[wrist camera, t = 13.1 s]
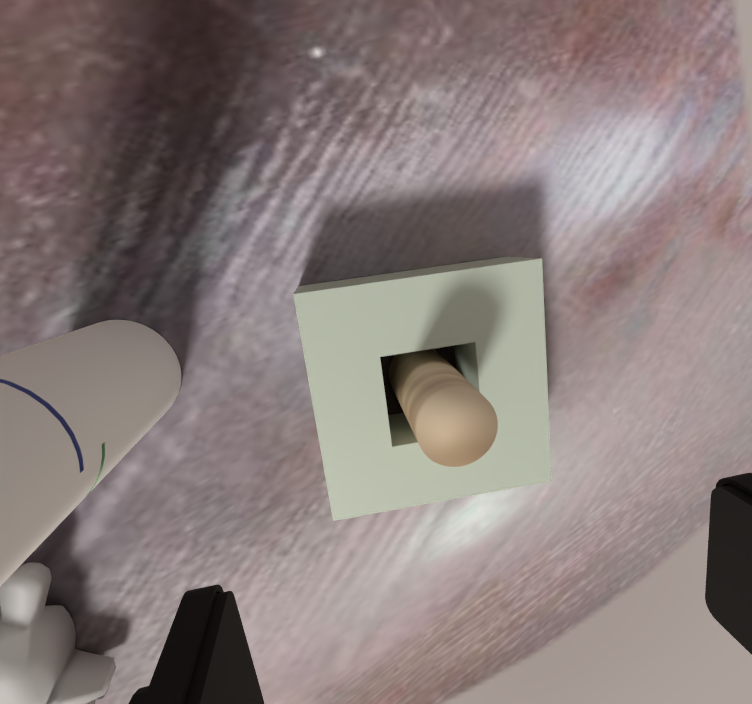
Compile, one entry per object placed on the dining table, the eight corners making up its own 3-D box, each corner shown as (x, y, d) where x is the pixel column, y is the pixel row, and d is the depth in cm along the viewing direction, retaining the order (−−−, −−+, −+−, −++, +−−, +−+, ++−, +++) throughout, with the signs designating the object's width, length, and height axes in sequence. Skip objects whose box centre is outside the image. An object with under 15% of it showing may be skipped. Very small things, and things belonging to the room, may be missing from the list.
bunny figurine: (-25, 788, 31) (-147, 632, 25) (20, 707, 35) (-75, 562, 30) (118, 755, 31) (28, 596, 26) (143, 680, 36) (72, 533, 31)
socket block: (298, 286, 29) (293, 294, 24) (507, 256, 30) (542, 258, 26) (331, 480, 33) (333, 520, 28) (518, 447, 34) (551, 481, 29)
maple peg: (384, 348, 31) (412, 396, 21) (442, 339, 31) (494, 383, 21) (392, 403, 32) (421, 473, 22) (447, 394, 32) (500, 459, 22)
